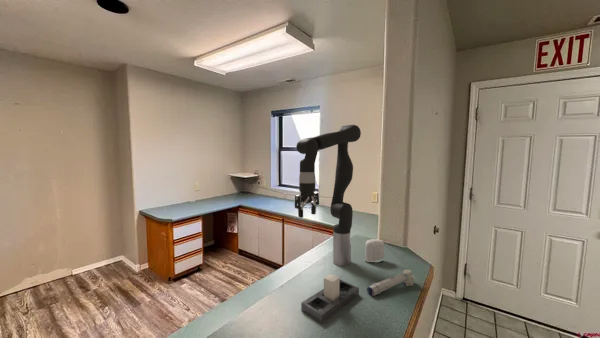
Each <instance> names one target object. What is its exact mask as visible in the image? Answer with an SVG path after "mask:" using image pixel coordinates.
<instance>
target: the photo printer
mask: <svg viewBox="0 0 600 338" xmlns="http://www.w3.org/2000/svg"><path fill="white" fill-rule="evenodd" d="M364 246H365V247H364V248H365V249H364V250H365V251H364V260H365V261H367V262H371V261H376V260H380V259H383V258H384V257H385V243H384V241H383V240H382V239H377V238H373V239H368V240H365V245H364ZM365 261H364V262H365ZM367 262H366V263H367Z"/></svg>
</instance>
